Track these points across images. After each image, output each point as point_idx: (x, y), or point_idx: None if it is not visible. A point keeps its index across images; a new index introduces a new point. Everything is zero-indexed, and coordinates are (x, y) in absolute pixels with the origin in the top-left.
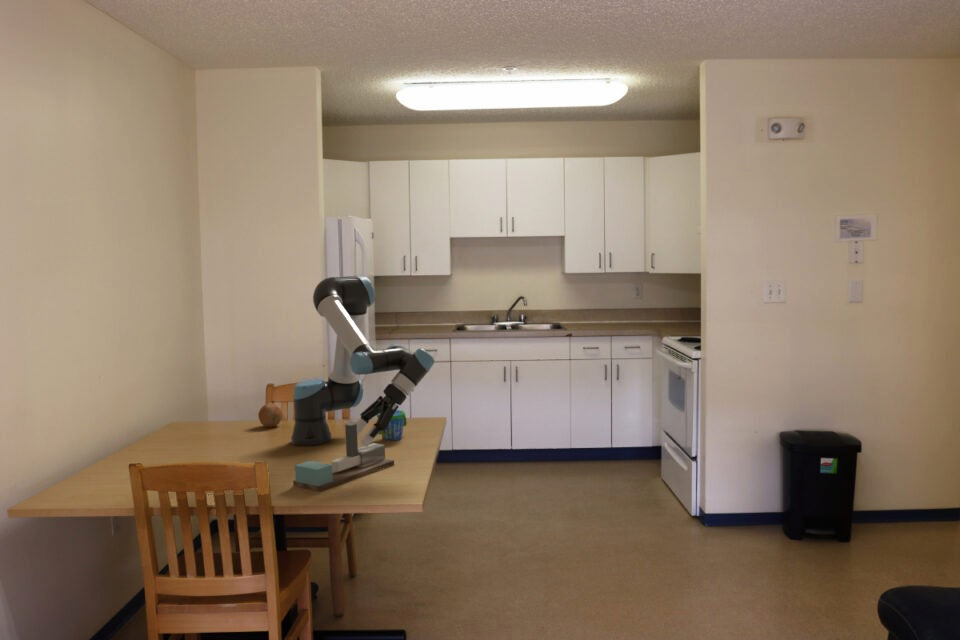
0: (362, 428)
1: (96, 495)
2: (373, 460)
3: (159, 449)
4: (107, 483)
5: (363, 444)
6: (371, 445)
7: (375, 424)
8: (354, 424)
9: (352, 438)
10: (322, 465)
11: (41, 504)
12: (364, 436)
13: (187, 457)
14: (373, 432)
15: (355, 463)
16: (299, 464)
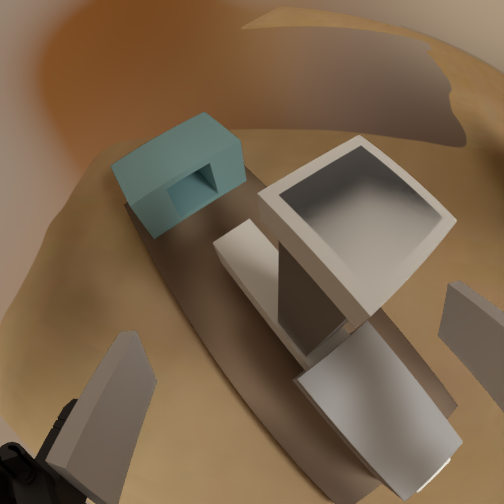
0: (487, 388)
1: (299, 19)
2: (339, 435)
3: (484, 73)
4: (346, 24)
5: (144, 358)
6: (427, 436)
7: (2, 454)
8: (307, 270)
9: (284, 295)
10: (145, 176)
11: (284, 9)
12: (116, 363)
13: (461, 75)
14: (55, 428)
15: (285, 343)
16: (206, 120)
